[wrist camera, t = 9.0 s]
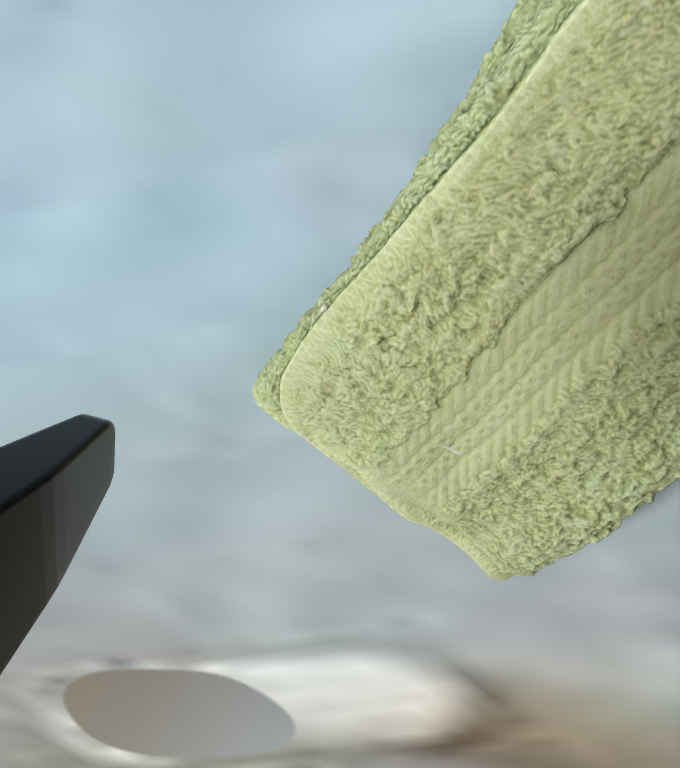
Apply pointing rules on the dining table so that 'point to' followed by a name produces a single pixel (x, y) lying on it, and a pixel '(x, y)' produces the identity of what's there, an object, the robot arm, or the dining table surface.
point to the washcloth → (516, 300)
